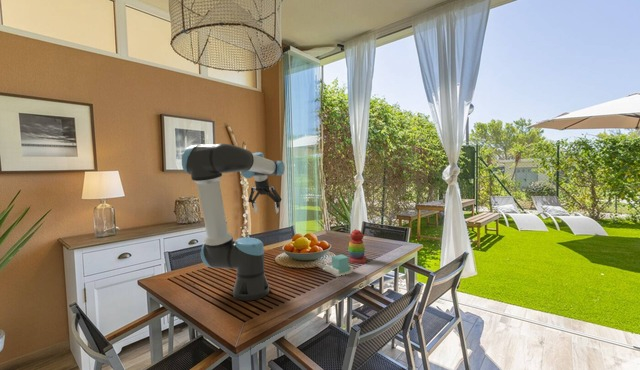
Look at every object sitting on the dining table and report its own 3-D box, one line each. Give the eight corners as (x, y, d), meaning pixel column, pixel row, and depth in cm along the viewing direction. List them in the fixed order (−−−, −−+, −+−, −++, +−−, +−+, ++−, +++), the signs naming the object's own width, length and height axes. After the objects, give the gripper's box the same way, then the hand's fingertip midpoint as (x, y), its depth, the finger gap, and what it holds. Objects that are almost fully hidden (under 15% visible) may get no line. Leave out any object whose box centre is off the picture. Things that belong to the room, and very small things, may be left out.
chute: (337, 276, 140) (337, 270, 139) (315, 265, 156) (315, 260, 156) (353, 272, 145) (353, 266, 145) (330, 262, 162) (330, 256, 162)
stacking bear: (366, 264, 157) (365, 232, 156) (347, 263, 159) (347, 231, 158) (366, 257, 168) (365, 228, 167) (349, 257, 170) (348, 227, 169)
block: (339, 273, 141) (339, 259, 141) (332, 269, 146) (332, 256, 146) (348, 270, 145) (348, 257, 144) (341, 267, 150) (341, 254, 149)
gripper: (283, 176, 165) (288, 209, 173) (244, 177, 170) (250, 209, 178) (279, 181, 158) (284, 215, 166) (238, 181, 164) (245, 214, 171)
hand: (266, 212), depth 172 cm, fingers open, 13 cm apart
